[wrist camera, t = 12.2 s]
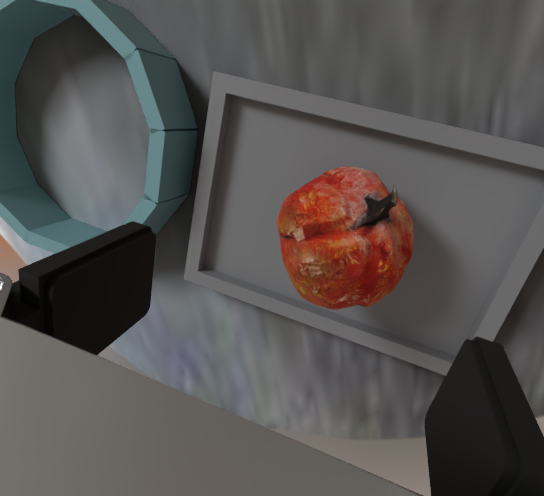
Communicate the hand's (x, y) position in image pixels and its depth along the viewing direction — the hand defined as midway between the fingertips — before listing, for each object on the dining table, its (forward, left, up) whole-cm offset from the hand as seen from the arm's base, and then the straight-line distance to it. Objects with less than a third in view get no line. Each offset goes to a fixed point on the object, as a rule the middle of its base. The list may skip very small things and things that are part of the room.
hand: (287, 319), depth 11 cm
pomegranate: (+1, 0, -14) cm, 14 cm away
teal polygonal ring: (0, -20, -14) cm, 24 cm away
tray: (+1, 0, -14) cm, 14 cm away
